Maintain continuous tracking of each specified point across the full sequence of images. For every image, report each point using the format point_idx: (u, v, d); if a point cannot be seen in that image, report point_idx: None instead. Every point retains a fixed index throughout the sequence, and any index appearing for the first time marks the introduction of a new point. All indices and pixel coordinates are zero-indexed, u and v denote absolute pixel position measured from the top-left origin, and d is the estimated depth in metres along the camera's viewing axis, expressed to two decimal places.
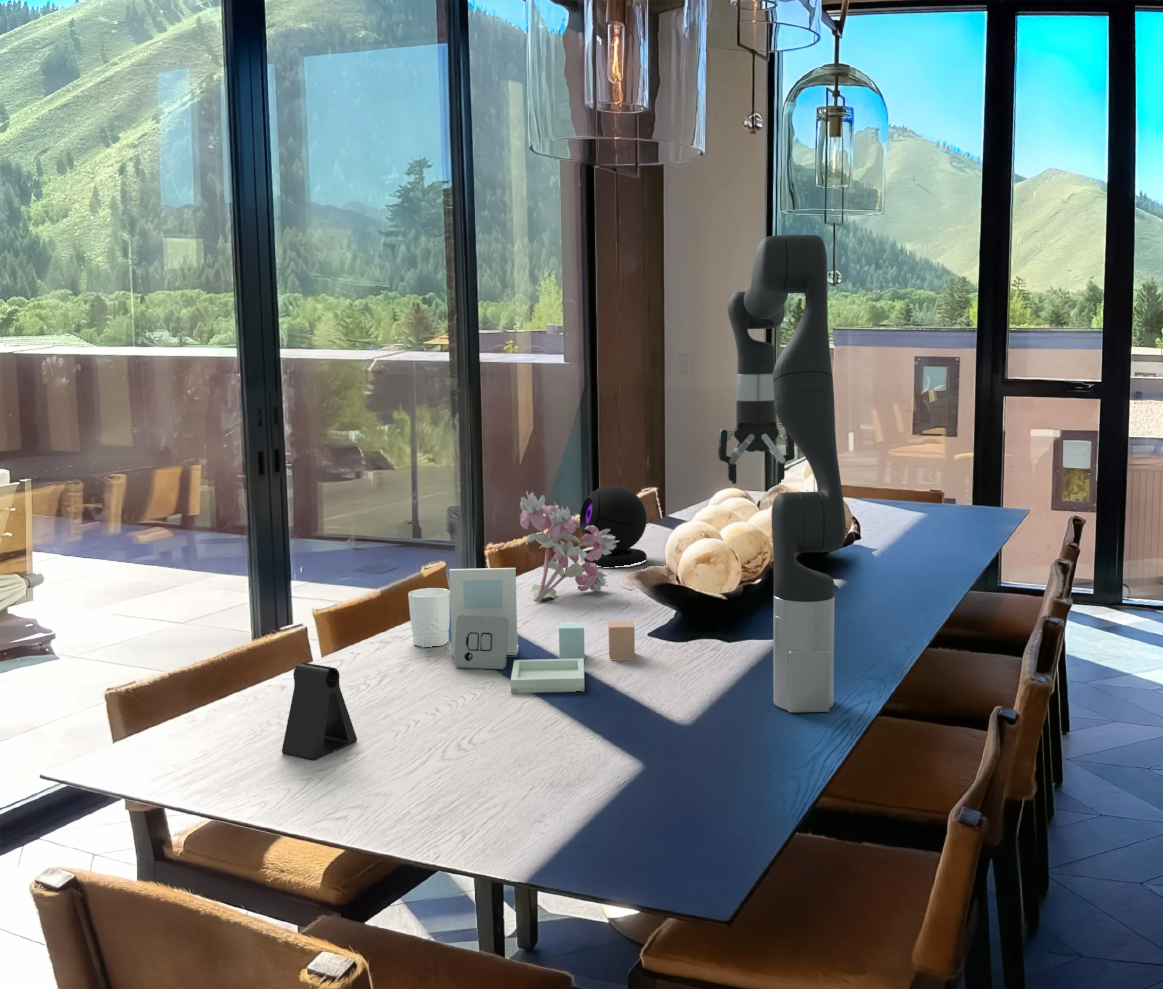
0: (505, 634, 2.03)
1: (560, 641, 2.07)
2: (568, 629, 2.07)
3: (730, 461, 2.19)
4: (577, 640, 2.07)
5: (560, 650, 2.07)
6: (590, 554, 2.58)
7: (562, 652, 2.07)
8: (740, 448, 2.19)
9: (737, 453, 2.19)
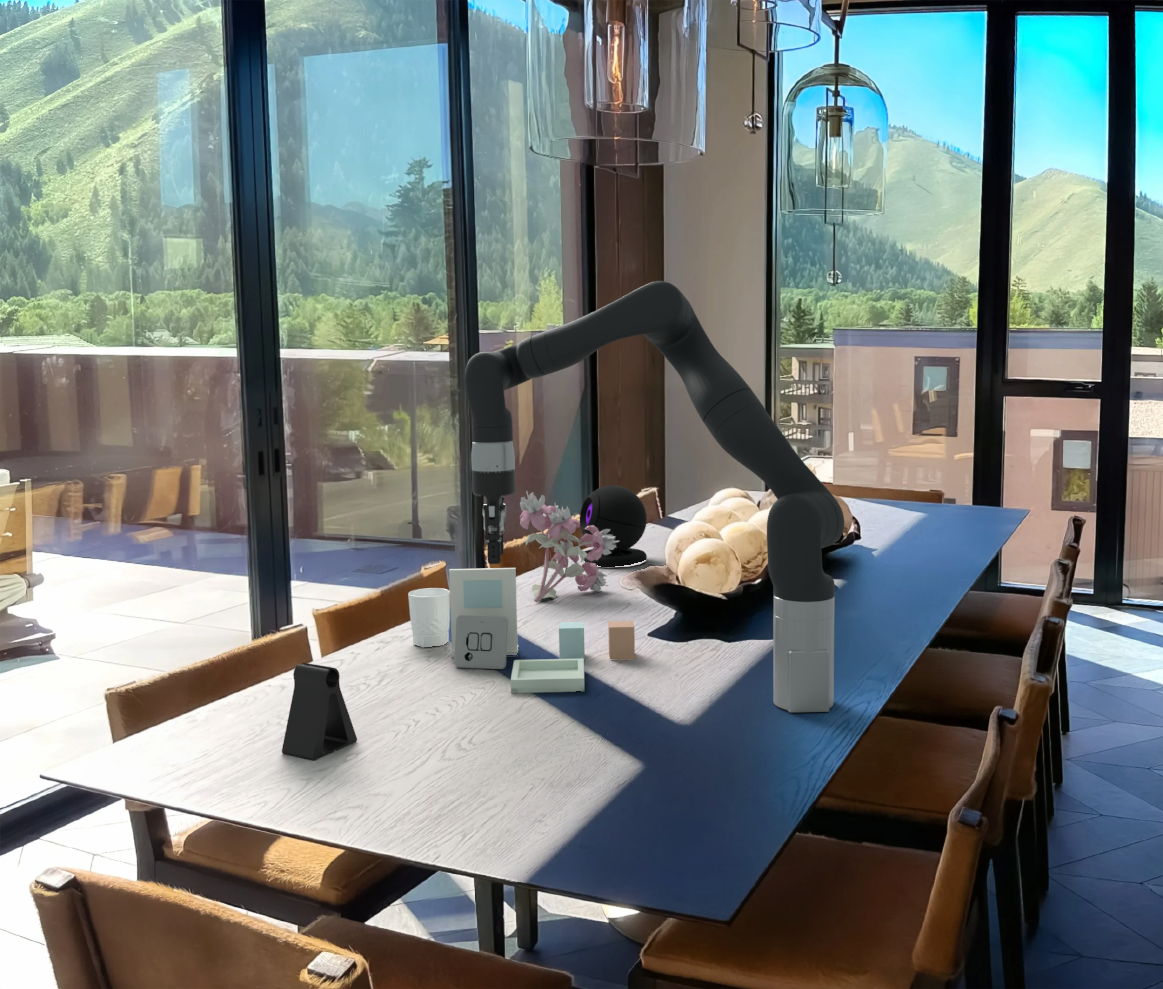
0: (505, 634, 2.03)
1: (560, 641, 2.07)
2: (568, 629, 2.07)
3: (500, 539, 1.98)
4: (577, 640, 2.07)
5: (560, 650, 2.07)
6: (590, 554, 2.58)
7: (562, 652, 2.07)
8: (503, 523, 1.99)
9: (501, 529, 1.99)
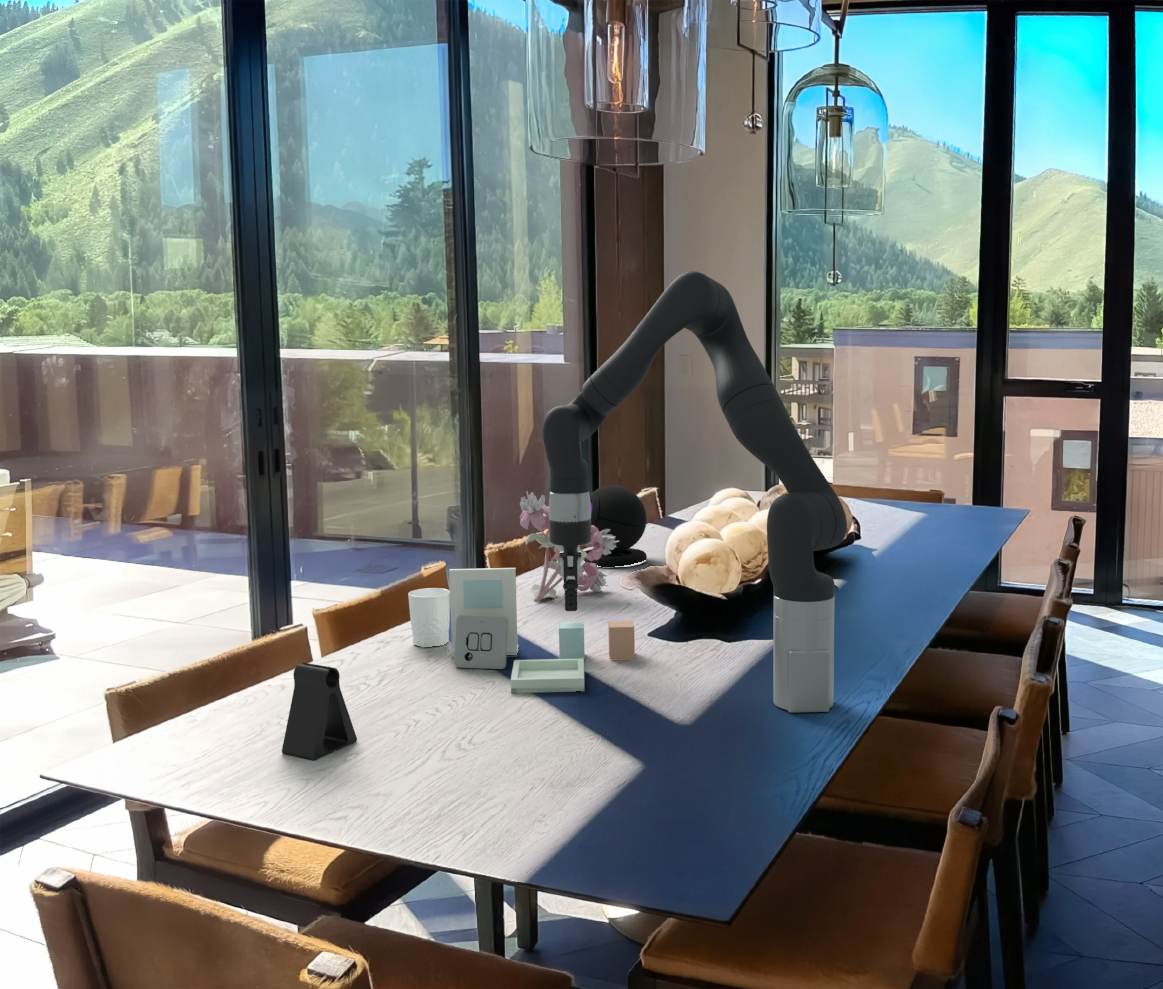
0: (505, 634, 2.03)
1: (560, 641, 2.07)
2: (568, 629, 2.07)
3: (577, 587, 2.03)
4: (577, 640, 2.07)
5: (560, 650, 2.07)
6: (590, 554, 2.58)
7: (562, 652, 2.07)
8: None
9: (578, 577, 2.04)
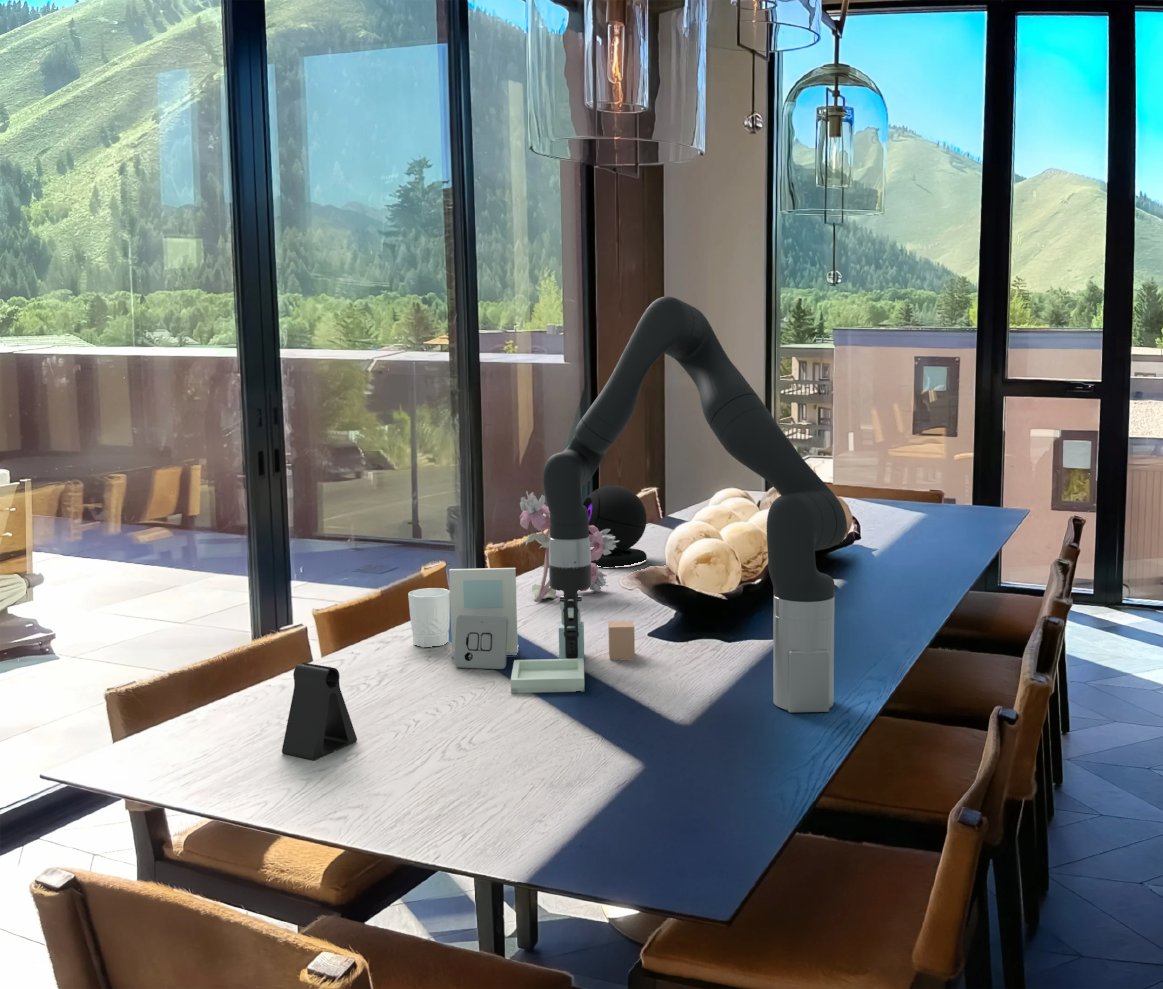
0: (505, 634, 2.03)
1: (560, 641, 2.07)
2: (567, 628, 2.07)
3: None
4: None
5: (560, 650, 2.07)
6: None
7: (562, 651, 2.07)
8: (580, 618, 2.06)
9: (578, 624, 2.06)
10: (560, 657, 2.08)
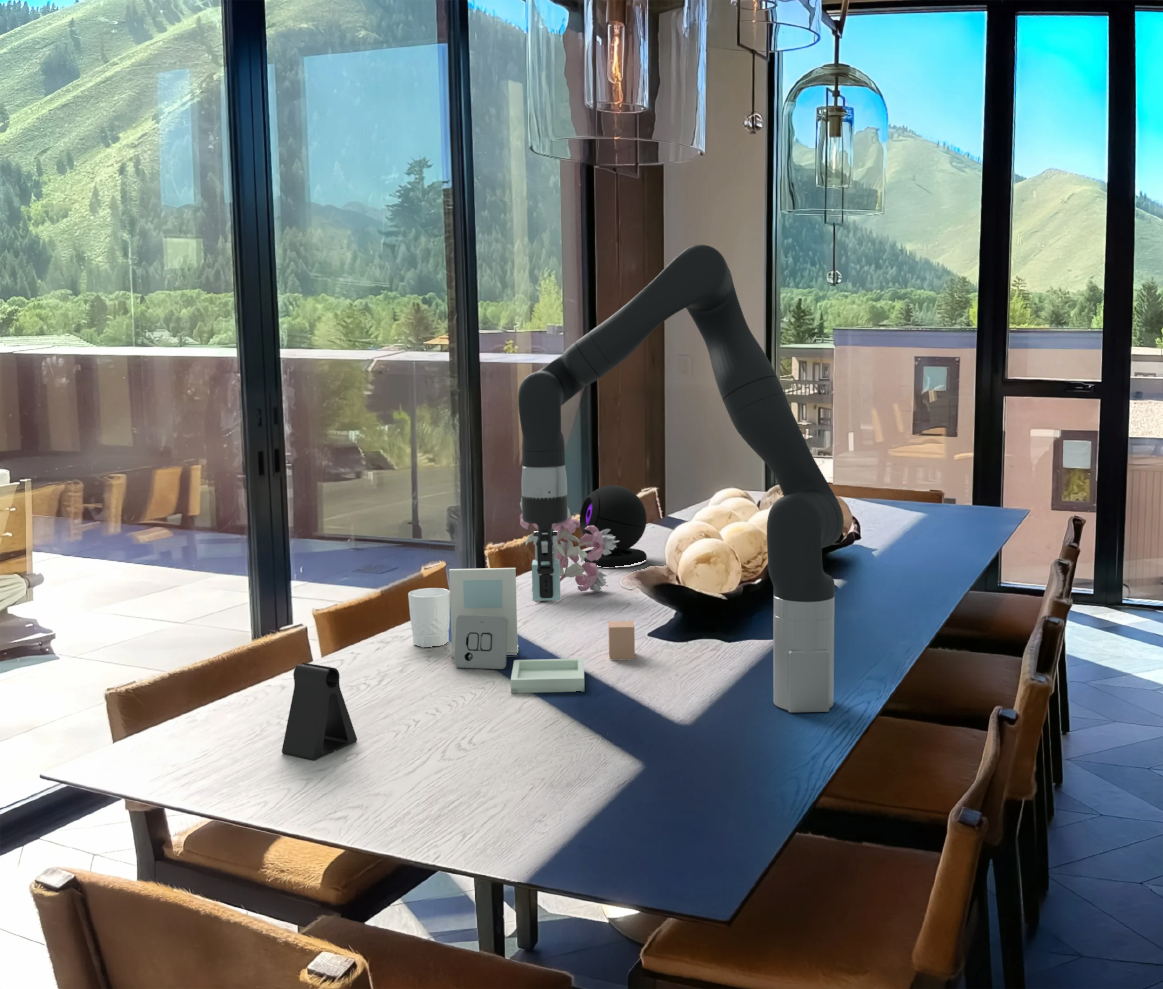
0: (505, 634, 2.03)
1: (533, 579, 1.90)
2: (541, 565, 1.90)
3: None
4: None
5: (533, 589, 1.91)
6: (590, 554, 2.58)
7: (535, 590, 1.91)
8: (555, 554, 1.90)
9: None
10: (533, 596, 1.91)
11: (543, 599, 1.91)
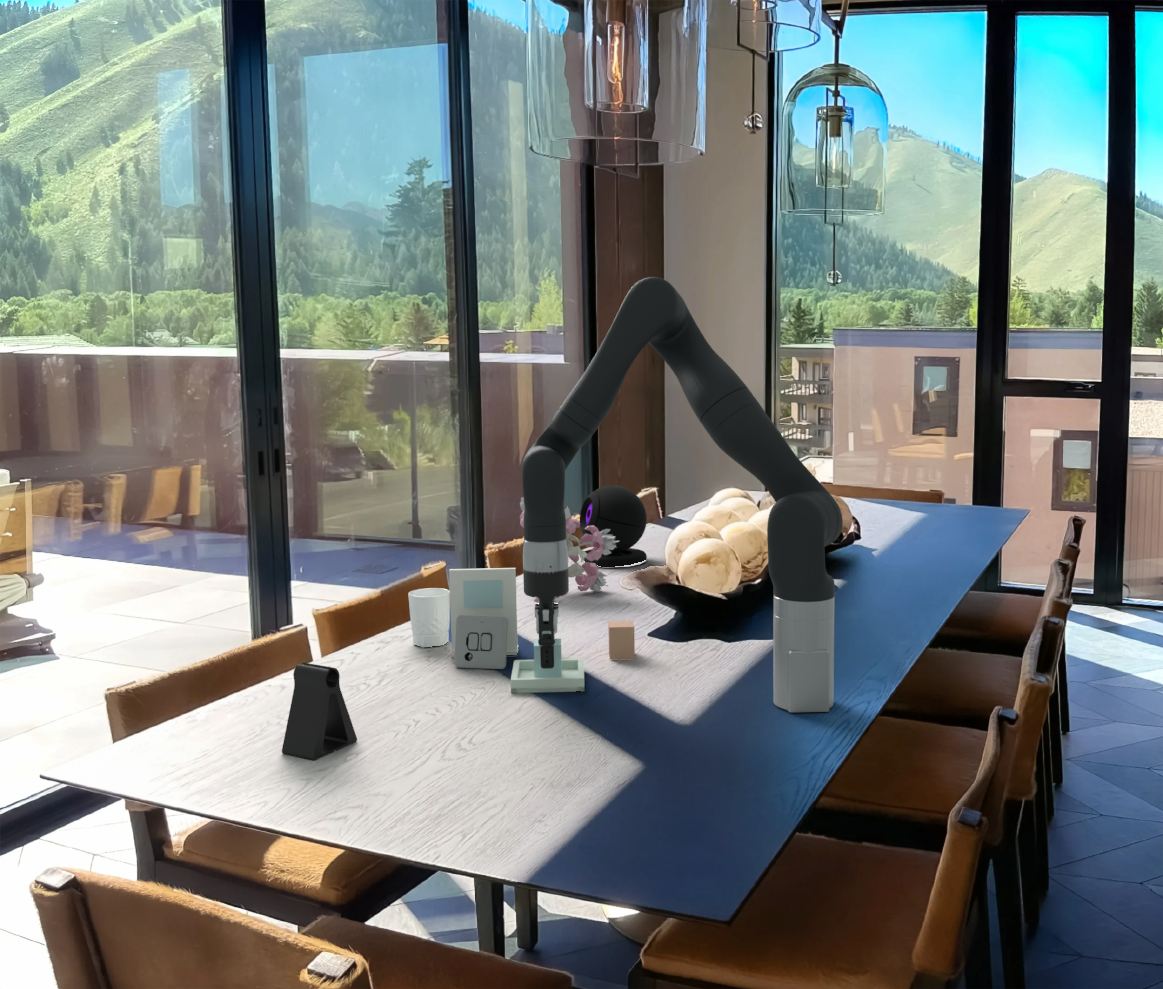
0: (505, 634, 2.03)
1: (535, 659, 1.92)
2: None
3: (554, 643, 1.89)
4: None
5: (535, 669, 1.92)
6: (590, 554, 2.58)
7: (537, 671, 1.92)
8: (556, 625, 1.90)
9: (555, 632, 1.90)
10: (535, 677, 1.93)
11: None
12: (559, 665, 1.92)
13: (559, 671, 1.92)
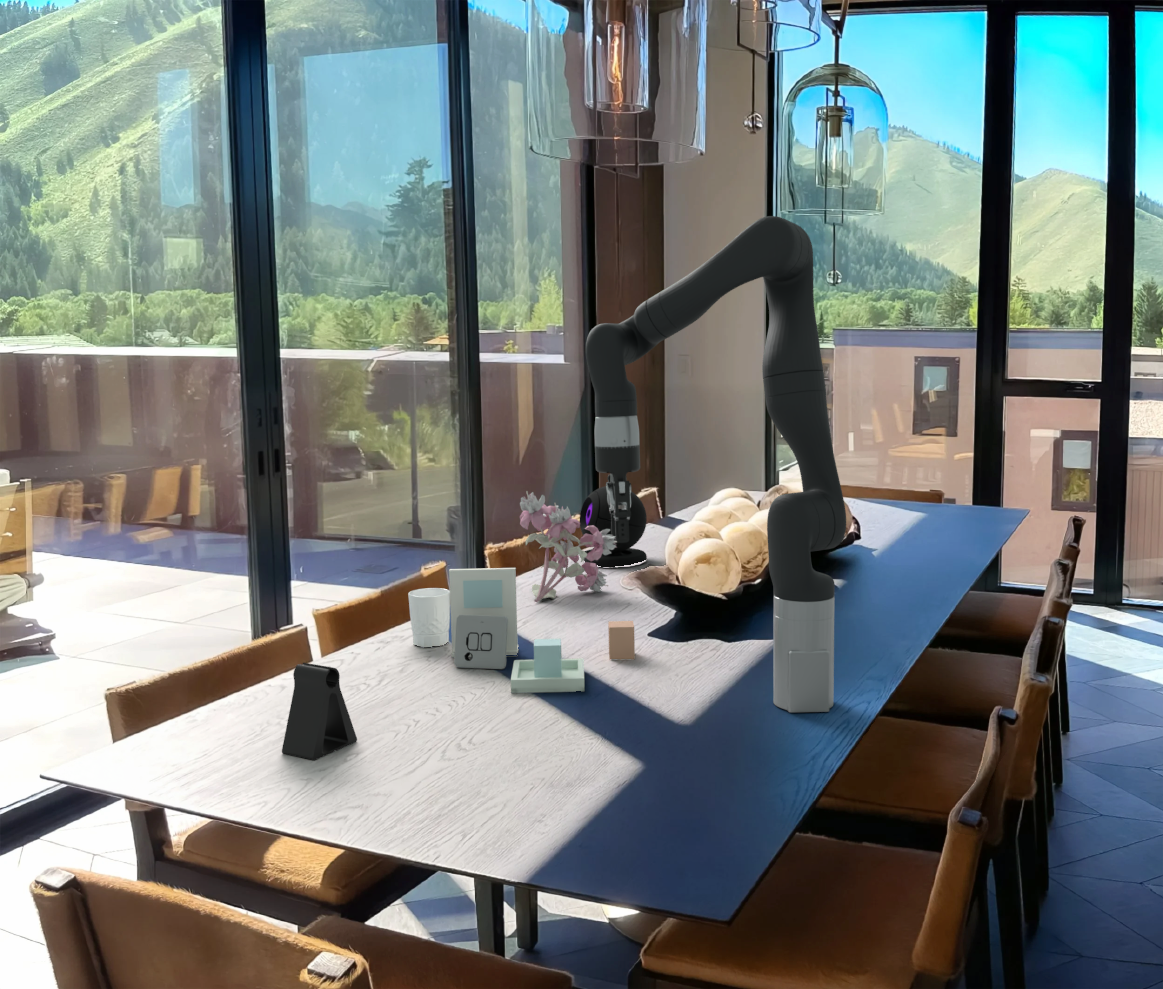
0: (505, 634, 2.03)
1: (535, 659, 1.92)
2: (543, 646, 1.92)
3: (629, 516, 1.91)
4: (553, 658, 1.92)
5: (535, 669, 1.92)
6: (590, 554, 2.58)
7: (537, 671, 1.92)
8: (630, 500, 1.92)
9: None
10: (535, 677, 1.93)
11: None
12: (559, 665, 1.92)
13: (559, 671, 1.92)
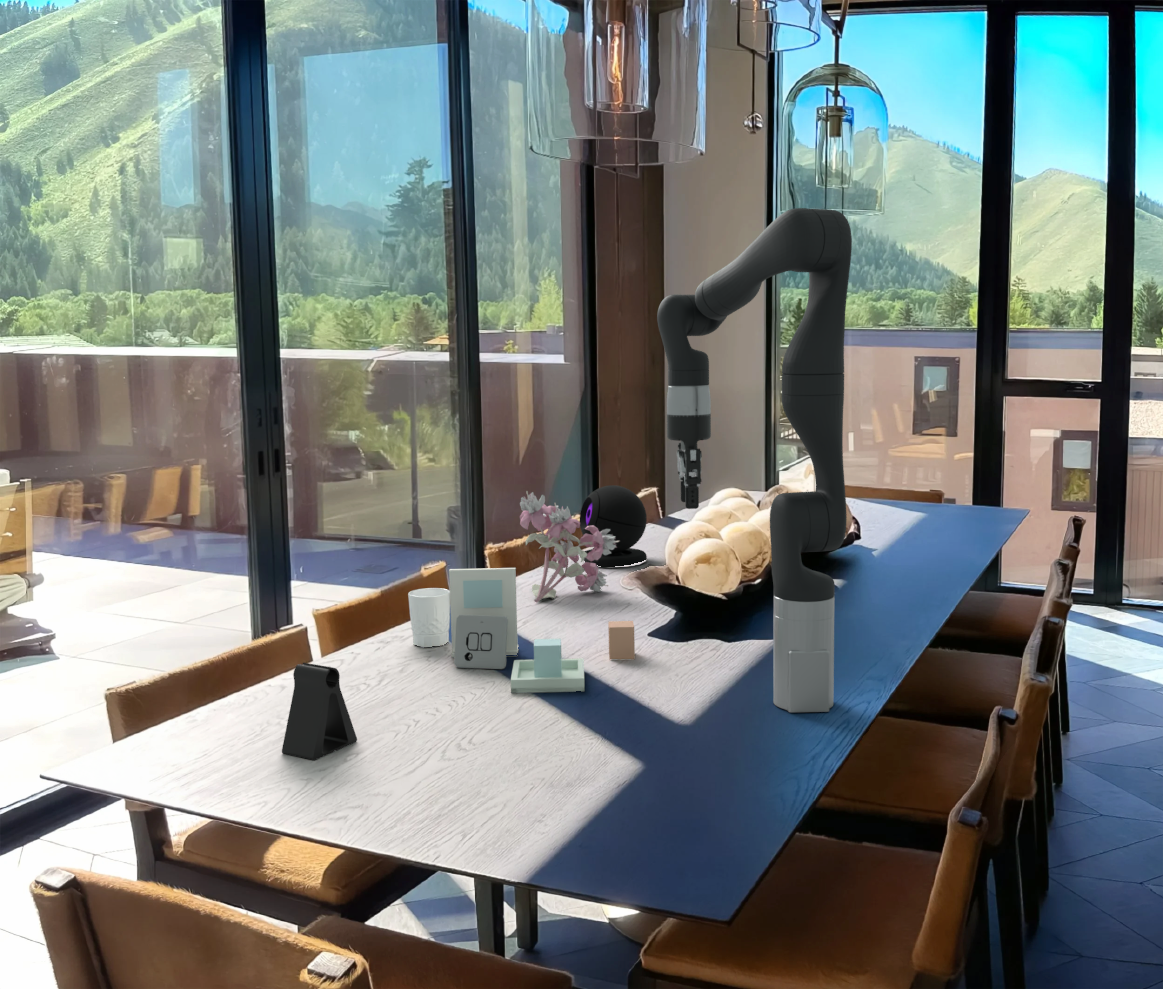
0: (505, 634, 2.03)
1: (535, 659, 1.92)
2: (543, 646, 1.92)
3: (699, 483, 1.96)
4: (553, 658, 1.92)
5: (535, 669, 1.92)
6: (590, 554, 2.58)
7: (537, 671, 1.92)
8: None
9: None
10: (535, 677, 1.93)
11: None
12: (559, 665, 1.92)
13: (559, 671, 1.92)
